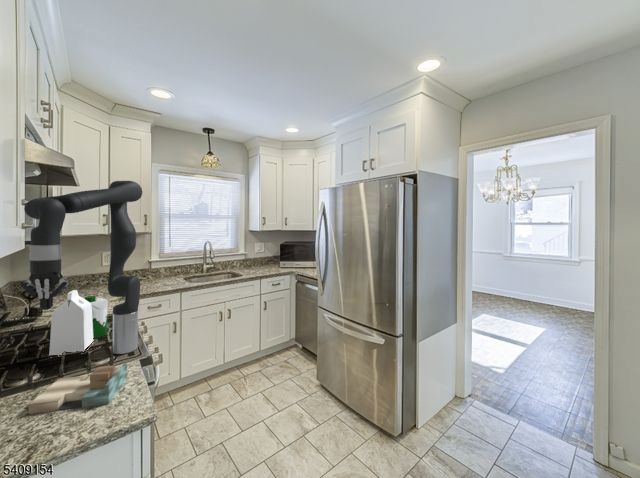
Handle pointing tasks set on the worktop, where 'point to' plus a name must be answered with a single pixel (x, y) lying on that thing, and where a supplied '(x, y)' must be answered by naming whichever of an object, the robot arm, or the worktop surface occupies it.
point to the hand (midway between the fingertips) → (46, 309)
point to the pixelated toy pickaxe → (77, 393)
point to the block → (101, 377)
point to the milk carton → (98, 315)
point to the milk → (71, 325)
